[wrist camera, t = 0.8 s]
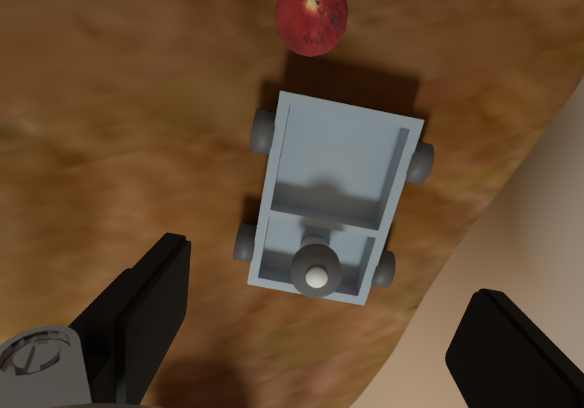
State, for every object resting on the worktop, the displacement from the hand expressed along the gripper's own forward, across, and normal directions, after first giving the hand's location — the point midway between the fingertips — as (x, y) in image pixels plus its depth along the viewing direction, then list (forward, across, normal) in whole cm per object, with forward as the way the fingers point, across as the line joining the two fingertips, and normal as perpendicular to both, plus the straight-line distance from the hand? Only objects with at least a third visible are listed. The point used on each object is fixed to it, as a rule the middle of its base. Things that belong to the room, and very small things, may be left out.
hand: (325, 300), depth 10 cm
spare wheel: (+19, -2, +10) cm, 21 cm away
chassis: (+24, -2, +4) cm, 24 cm away
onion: (+24, +2, -12) cm, 27 cm away
